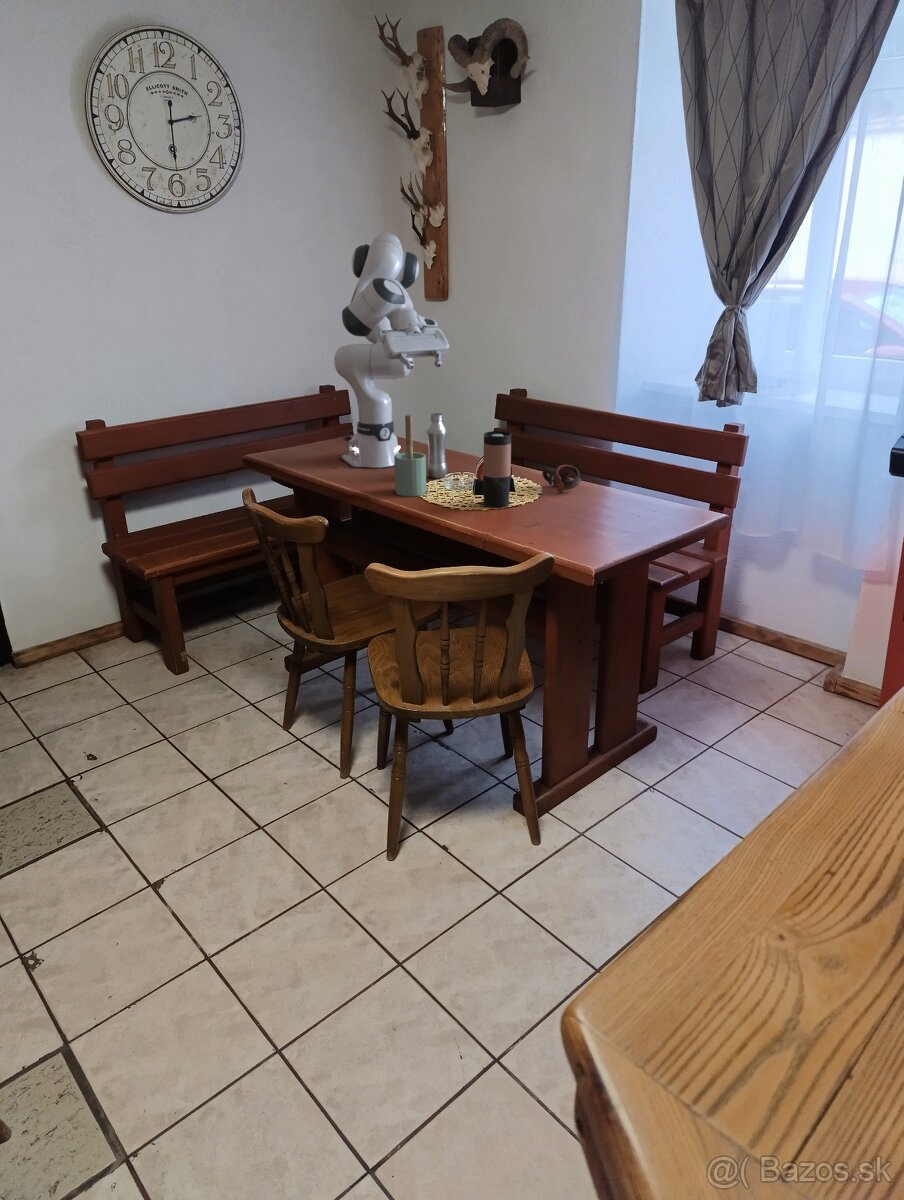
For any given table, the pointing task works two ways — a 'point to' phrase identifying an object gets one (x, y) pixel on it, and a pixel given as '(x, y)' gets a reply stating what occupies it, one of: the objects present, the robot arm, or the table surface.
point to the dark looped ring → (562, 477)
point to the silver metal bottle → (436, 447)
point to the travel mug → (496, 468)
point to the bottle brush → (409, 437)
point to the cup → (410, 474)
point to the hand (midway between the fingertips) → (425, 366)
